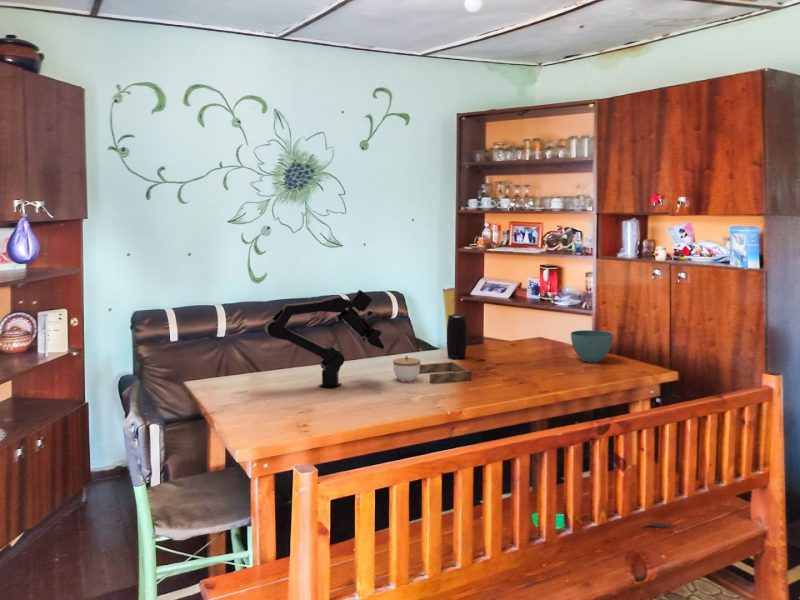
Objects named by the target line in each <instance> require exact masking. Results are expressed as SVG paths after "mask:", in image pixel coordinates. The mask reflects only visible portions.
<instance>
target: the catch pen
mask: <svg viewBox="0 0 800 600" xmlns="http://www.w3.org/2000/svg"><path fill="white" fill-rule="evenodd" d="M444 371H446V372H444ZM452 371H453V372H452ZM431 372H434V373H431ZM419 373H421V374H429V384H430V383H433V384H442V383H441V382H444V383H452V382H451V381H456V382H463V381H462V380H468V381H472V370H469V369H467V368H465V367H463V366H462V365H459V364H458V363H456V362H454V361H449V362H436V363H434V362H433V363H424V364H421V363H420V371H419Z"/></svg>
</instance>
